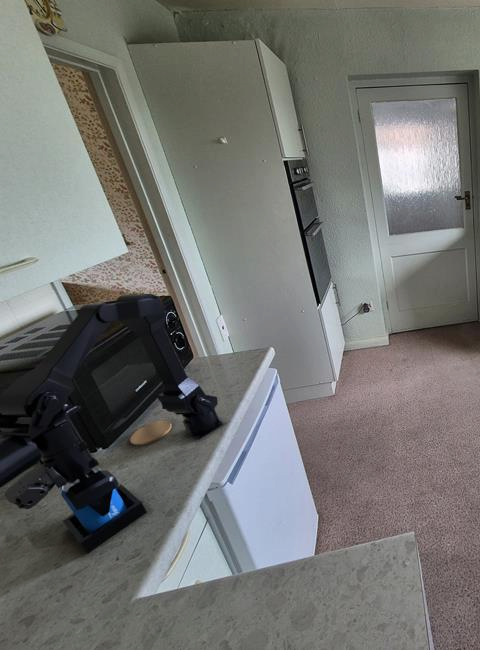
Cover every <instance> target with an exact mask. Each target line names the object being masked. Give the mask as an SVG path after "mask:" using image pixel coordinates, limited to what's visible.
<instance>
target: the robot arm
mask: <svg viewBox="0 0 480 650" xmlns="http://www.w3.org/2000/svg"><path fill="white" fill-rule="evenodd" d="M166 318H167V313H166V310H165V306H164V303H163V300H162V299H161V297H160V296H158V295H155V294H154V293H128V294H127V293H126V294H122V295H120V296H119V297H117V298H116V299H115V300H108V301H107V300H106V301H101V302H98V303H87V304H85V305H83V306H81V307H80V308H79V309H78V314H77V315H76V317H75V318H74V319H73V321H72V322H71V323H70V325H68V327H67V328H66V329H65V331H63V334H62V335H61V336H60V337H59V338H58V340H57V341H56V342H55V344H54V345H53V346H52V348H51V349H50V350H49V351H48V352H47V354H45V356H44V358H43V359H42V360H41V361H40V363H38V365H36V366H35V367H34V368H33V369H32V370H30V371H28V372H26V373H25V374H23V375H22V376H20V377H18V378H17V379H16V380H15V381H14V382H12V384H10V385H9V386H8V387H7V388H6V389H5V390H3V392H2V393H1V394H0V489H1V488H3V487H4V486H6V485H7V484H8V483H10V482H12V481H13V480H14V479H16V478H17V477H19V476H20V475H22V474H23V473H24V472H26V471H28V470H29V469H31V468H32V467H34V466H35V465H36V464H38V463H39V464H38V465H36V466H35V467H34V468H32V469H31V470H29V471H28V472H26V473H25V474H24V475H22V476H21V477H20V478H19V479H18V480H17V481H15V482H14V483H12V485H11V486H9V487H8V488H7V489H6V490H5V491H4V493H3V496H4V497H5V499H6V500H7V502H9V503H10V504H13V505H15V506H17V508H18V509H21V510H22V509H25V510H30V509H31V508H34V507H35V506H36V505H37V504H38V503H39V502H41V501H42V500H43V499H44V498H45V497H46V496H48V494H49V492H50V491H52V489H53V488H54V487H55V486H56V487H57V489H61V487H62V486H64V485H66V484H67V483H68V484H71V483H73V482H75V481H76V480H77V479H78V481H79V482H78V483H76V484H75V485H73V486H71V487H69V489H68V491H67V492H66V494H65V496H66V498H67V499H68V500H69V502H70V503H71V504H72V506H73V507H74V508H75V509H76V510H80V509H83V508H84V507H86V506H89V507H91V508H92V509H93V510H95V511H96V512H97V513H99V514H100V515H101V516H105V515H106V514H108V513H109V512H110V505H111V498H112V493H113V490H114V489H115V488H117V487H118V486H119V485H120V483H119V482H118V479H117V478H116V476H115V475H114V474H112V472H110V471H109V470H106V469H105V470H104V469H100V470H99V471H98V472H96V473H95V472H94V471H93V470H92V468H94V467H97V466H99V465H100V463H99V462H98V460H97V459H96V458H95V457H94V456H93V455H92V453H91V452H90V450H89V449H90V446H89V444H88V443H87V442H86V441H85V440H84V439H83V438H82V437H81V435H80V433H79V431H78V429H77V428H76V426H75V424H74V423H73V421H72V419H71V418H70V417H71V416H72V415H75V414H76V413H77V412H79V411H80V410H81V409H82V407H81V405H71V404H67V403H66V402H67V400H68V398H69V396H70V394H71V392H72V389H73V388H72V387H73V383H72V380H73V376H74V375H75V373H76V371H77V370H78V369H79V367H80V366H81V365H82V363H83V362H84V360H85V359H86V358H87V356H88V354H89V353H90V352H91V350H92V349H93V347H94V346H95V345H96V343H97V342H98V340H99V339H100V338H101V336H102V335H103V334H104V332H105V331H106V329H107V328H108V327H109V325H110V323H112V322H113V323H114V322H117V321H120V322H121V324H122V325H123V326H124V327H125V328H127V329H129V330H130V331H132V332H133V333H134V334H135V335H137V336H138V338H139V340H140V342H141V344H142V346H143V348H144V350H145V352H146V354H147V356H148V358H149V360H150V362H151V363H152V366H153V368H154V370H155V371H156V373H157V375H158V377H159V379H160V381H161V383H162V386H163V387H162V391H161V393H160V394H158V395H157V400H158V401H159V402H160V404H161V408H162V410H166V412H168V413H173V414H175V415H176V416H180V415H181V416H182V418H183V420H182V424H183V426H184V428H185V431H186V432H187V434H188V435H190V436H191V437H195V438H196V439H198V440H200V439H203V438H204V437H206V436H207V435H209V434H210V433H212V432H213V431H215V430H217V429H219V428H220V427H222V426H223V425H224V421H222V420H220V419H219V415H218V414H217V412H216V407H217V406H218V404H219V403H218V402H219V401H218V397H217V396H215V395H211V394H210V395H209V394H206V393H205V391H204V390H203V388H202V387H201V386H200V385H199V384H198V383H197V382H195V381H194V380H193V379H191V378H190V377H188V375H187V373H186V371H185V368H184V367H183V364H182V362H181V361H180V359H179V356H178V354H177V352H176V350H175V348H174V345H173V344H172V342H171V340H170V338H169V335H168V333H167V331H166V328H165V323H166V320H167V319H166ZM18 420H30V421H29V423H19V422H18V423H17V421H18ZM86 475H87V476H88V477H87V476H86Z"/></svg>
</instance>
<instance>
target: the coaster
mask: <svg viewBox="0 0 480 650" xmlns="http://www.w3.org/2000/svg"><path fill="white" fill-rule="evenodd" d="M172 427H173V426H172V423H171V421H169V420H167V419H165V420H157V421H153V422H150V423H148V424H146V425H144V426H142V427H140V428H139V429H137V430H136V431H135V432H134V433H133V434H132V435H131V437H130V438H129V442H130V444H131V445H133V446H136V447H137V446H138V447H139V446H145V445H149V444H151V443H153V442H156V441H158V440H160V439H161V438H163V437H164V436H166V435H167V434H168V433H169V432H170V430H171V429H172Z"/></svg>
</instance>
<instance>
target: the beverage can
mask: <svg viewBox="0 0 480 650" xmlns="http://www.w3.org/2000/svg"><path fill="white" fill-rule="evenodd" d="M92 470H93V471H94V472H95V473H96V472H98V471H99V470H101V468H100V467H97V466H95V467H94V468H92ZM86 476H87V475H86ZM87 477H88V476H87ZM78 482H79V481H78V479H77V480H76V481H75V482H73V483H71V484H68V483H67V484H66V485H64V486H62V487H60V489H61V493H60V494H61V497H62V499H63V500H64V502H65V503H66V504H67V505H68V507H69V508H70V510H71V512H72V514H75V515H76V517H77V518H78V520H79V521H80V523H81V524H82V527H83V528H84V530H85V531H86V532H87V533H88V535H89V534H91V533H92V532H94V531H95V530H97V529H98V528H100V527H101V526H103V525H104V524H106V523H107V522H108V521H110V520H111V519H113V518H114V517H116V516H117V515H119V514H120V513H122V512H123V511H125V510H126V509H128V507H127V505H126V504H125V502H124V499H121V497H120V495H119V494H118V492H117V490H116V489H114V490H113V493H112V498H111V505H110V512H109V513H108V514H106V515H105V516H101V515H100V514H99V513H97V512H96V511H95V510H93V509H92V508H91V507H89V506H86V507H84V508H83V509H80V510H76V509H75V508H74V507H73V506H72V504H71V503H70V502H69V500H68V499H67V498H66V496H65V494H66V492H67V491H68V489H69V487H71V486H73V485H75V484H76V483H78Z"/></svg>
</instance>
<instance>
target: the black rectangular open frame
mask: <svg viewBox="0 0 480 650" xmlns="http://www.w3.org/2000/svg"><path fill="white" fill-rule="evenodd" d="M115 489H116V490H117V492H118V494H119V495H120V497H121V499H122V500H124V499H125V500H126V501H127V502H128V503H129V504H130V505H131V506H129V507H127V509H126V510H125V511H123V512H122V513H120V514H119V515H117V516H116V517H114V518H113V519H111V520H110V521H108V522H107V523H106V524H104V525H103V526H101V527H100V528H98V529H97V530H95V531H94V532H92V533H91V534H89V533H88V535H86V536H85V537H84V535H83V534H82V533H81V532H80V531H79V528H81V527H83V525H82V524H81V523H80V521H79V520H78V518H77V517H76V515H75V514H74V513H72V514H71V515H69V516H68V517H66V518H65V519H63V520H62V522H63V524H64V526H65V527H66V528H67V530H68V532H70V534H71V535H72V536H73V537H74V539H75V540H76V541H77V542H78V544H79V545H80V546H81V547H82V548H83V550H84V551H85V552H86V554H90V553H91V552H93V551H94V550H96V549H97V548H99V547H100V546H101V545H103V544H104V543H105V542H107V541H109V539H111V538H113V537H115V536H116V535H117V534H118V533H120V532H121V531H123V530H124V529H126V528H127V527H129V526H130V525H131V524H133V523H134V522H136V521H137V520H139V519H140V518H141V517H143V516H144V515H147V513H148V511H147V509H146V508H145V505H144V504H143V502H142V501H141V500H140V499H138V498H137V497H136V496H135V495H134V494H133V493H132V492H131V491H130V490H129V489H128V488H126V487H125V486H124V484H119V485H118V487H117V488H115Z"/></svg>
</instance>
